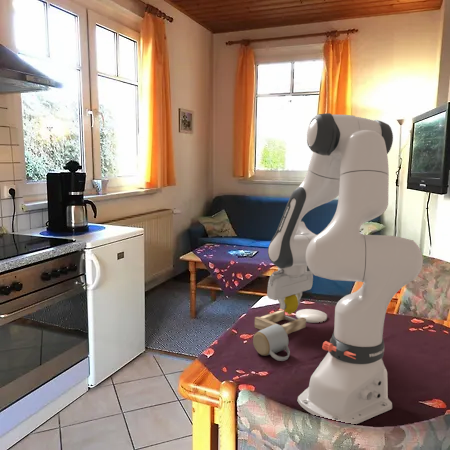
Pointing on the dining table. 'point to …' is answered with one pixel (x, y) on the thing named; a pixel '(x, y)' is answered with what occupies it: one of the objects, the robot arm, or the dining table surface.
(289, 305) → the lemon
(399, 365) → the dining table surface
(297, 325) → the wooden rectangular frame
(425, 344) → the dining table surface
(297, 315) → the saucer
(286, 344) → the ceramic mug
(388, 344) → the dining table surface
